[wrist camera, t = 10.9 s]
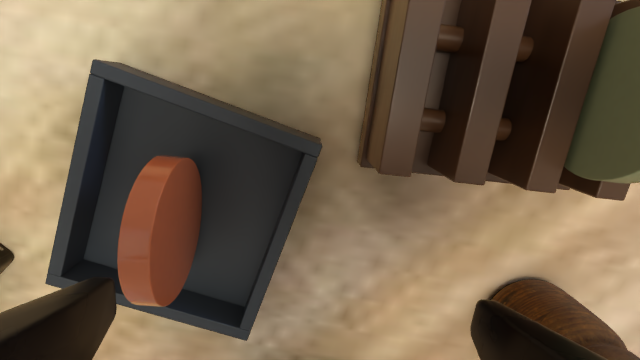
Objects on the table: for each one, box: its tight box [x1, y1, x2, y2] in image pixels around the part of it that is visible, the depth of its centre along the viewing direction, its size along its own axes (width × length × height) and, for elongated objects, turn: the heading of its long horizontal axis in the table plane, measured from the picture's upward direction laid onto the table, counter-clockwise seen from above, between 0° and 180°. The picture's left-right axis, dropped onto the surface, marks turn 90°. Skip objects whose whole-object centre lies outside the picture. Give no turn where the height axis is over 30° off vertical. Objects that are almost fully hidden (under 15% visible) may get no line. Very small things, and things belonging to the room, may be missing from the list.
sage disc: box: [564, 6, 640, 184], centre depth 14 cm, size 7×1×7 cm, turn 173°
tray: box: [46, 60, 322, 341], centre depth 19 cm, size 12×11×2 cm
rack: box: [357, 0, 640, 201], centre depth 17 cm, size 10×12×5 cm
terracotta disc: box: [117, 155, 202, 307], centre depth 16 cm, size 7×1×7 cm, turn 173°
